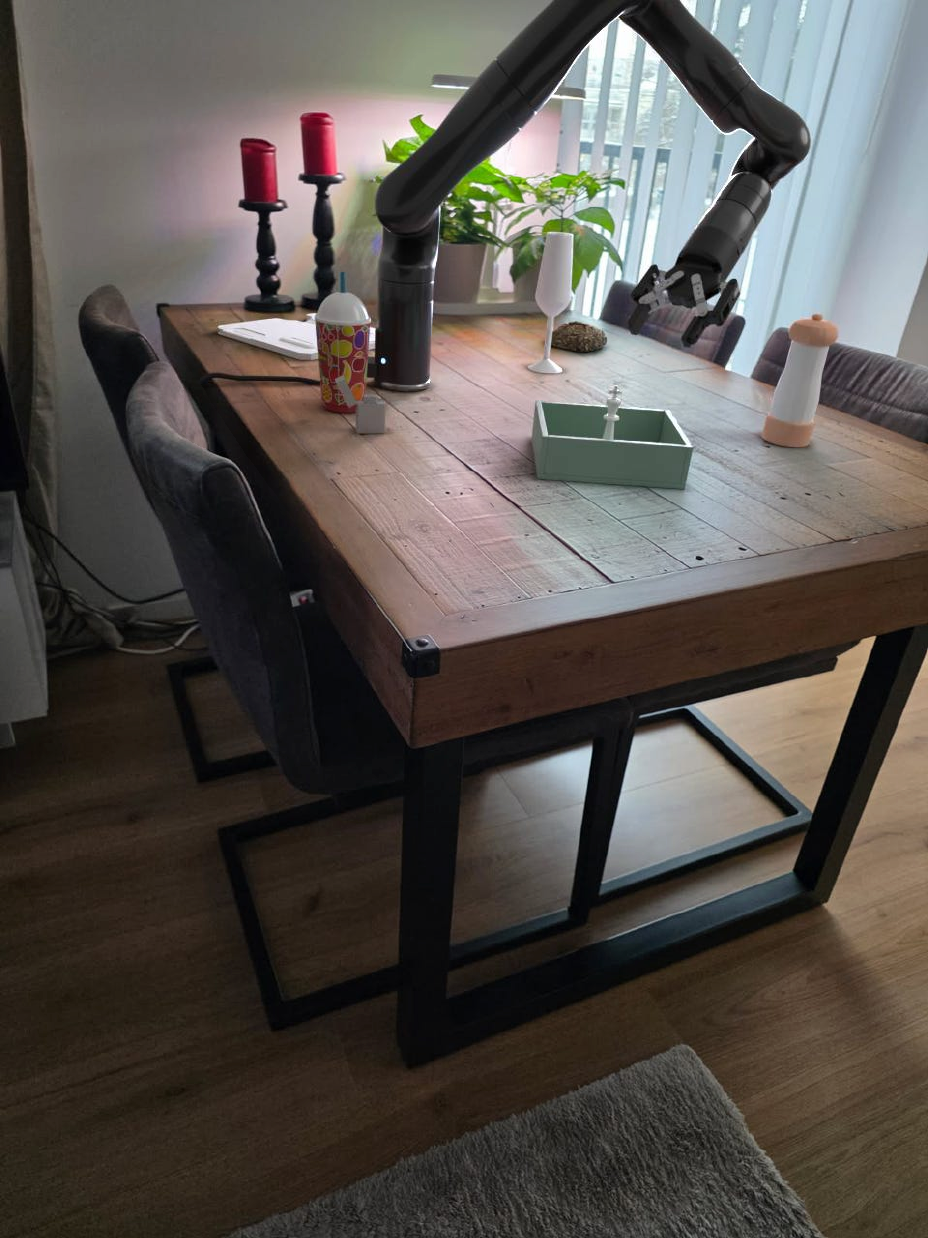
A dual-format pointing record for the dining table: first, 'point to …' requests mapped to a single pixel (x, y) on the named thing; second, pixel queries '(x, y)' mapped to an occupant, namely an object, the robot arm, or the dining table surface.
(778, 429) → the pepper shaker
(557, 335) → the bread roll
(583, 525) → the dining table surface
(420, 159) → the robot arm
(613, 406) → the chess piece
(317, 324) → the smoothie
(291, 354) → the tray
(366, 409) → the lighter
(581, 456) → the open box
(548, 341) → the champagne flute
